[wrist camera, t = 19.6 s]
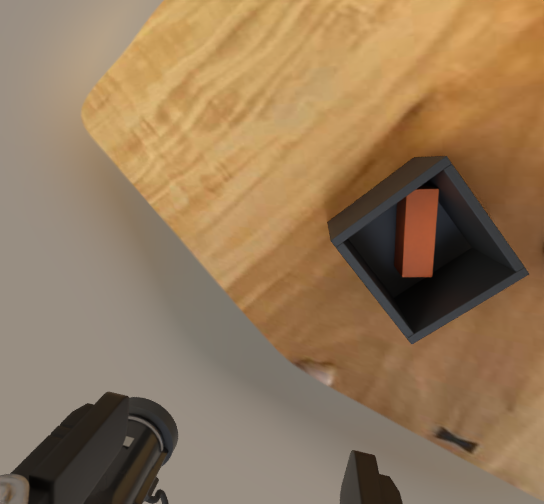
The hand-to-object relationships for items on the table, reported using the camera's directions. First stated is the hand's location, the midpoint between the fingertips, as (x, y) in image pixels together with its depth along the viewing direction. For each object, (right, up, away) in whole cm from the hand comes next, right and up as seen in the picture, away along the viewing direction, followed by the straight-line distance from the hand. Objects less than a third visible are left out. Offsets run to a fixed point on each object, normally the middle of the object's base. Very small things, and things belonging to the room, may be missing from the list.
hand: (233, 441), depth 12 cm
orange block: (+17, +5, +26) cm, 31 cm away
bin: (+16, +9, +28) cm, 33 cm away
